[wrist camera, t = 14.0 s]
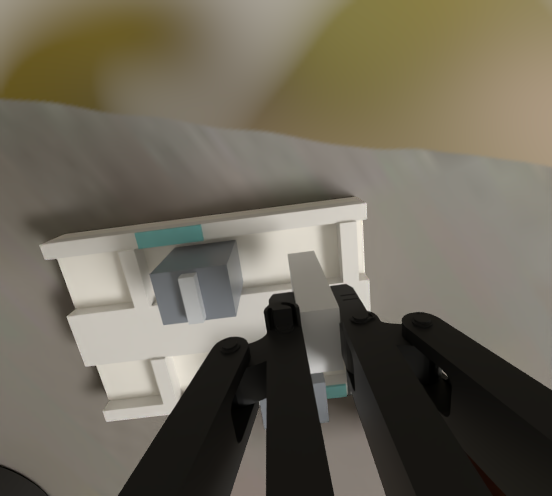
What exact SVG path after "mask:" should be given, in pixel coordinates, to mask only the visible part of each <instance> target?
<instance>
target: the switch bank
mask: <svg viewBox="0 0 552 496" xmlns="http://www.w3.org/2000/svg"><path fill="white" fill-rule="evenodd" d="M365 219H367V204H366V202H364V201H362V200H361V199H359V198H357V197H348V198H340V199H333V200H325V201H317V202H309V203H302V204H294V205H286V206H278V207H271V208H263V209H255V210H247V211H239V212H232V213H224V214H216V215H208V216H201V217H193V218H185V219H177V220H170V221H162V222H154V223H146V224H139V225H131V226H123V227H115V228H107V229H100V230H92V231H84V232H76V233H69V234H64V235H61V236H59V237H57V238H54V239H52V240H50V241H47V242H45V243H42V244H40V245H39V246H40V248H41V251H42V254H43V256H44V259H45V260H50V259H57V260H58V263H59V266H60V268H61V271H62V274H63V276H64V279H65V282H66V285H67V287H68V290H69V293H70V296H71V298H72V301H73V304H74V306H75V310H74V311H73V312H71V313H70V314H69V315H68V316H67V319H68V322H69V325H70V327H71V330H72V332H73V335H74V338H75V340H76V343H77V346H78V348H79V351H80V353H81V356H82V359H83V361H84V364H85V367H87V366H95V365H96V366H97V369H98V372H99V375H100V377H101V380H102V383H103V385H104V388H105V391H106V394H107V396H108V399H109V402H108V403H107V405H106V407H105V408H104V410H103V414H104V417H105V419H106V422H109V421H118V420H127V419H135V418H144V417H153V416H162V415H170V413H171V412H172V410H173V409H174V407H175V406H176V404H177V402H178V401H179V399H180V398H181V396H182V395H183V393H184V391H185V390H186V388H187V387H188V385H189V384H190V382H191V380H192V379H193V377H194V376H195V374H196V373H197V371H198V370H199V368H200V366H201V365H202V363H203V362H204V360H205V359H206V357H207V355H208V354H209V352H210V351H211V349H212V348H213V346H214V345H215V344H216V343H217V342H219V341H221V340H222V339H225V338H228V337H242V338H244V339H246V340H247V342H248V344H249V343H252V342H255V341H257V340H259V339H261V338H263V337H264V336H265V335H266V334H267V330H266V324H265V317H264V309H265V308H266V307H267V306H268V305H269V299H270V297H271V296H272V295H273V294H277V293H285V292H292V286H291V278H290V270H289V262H288V254H292V253H299V252H307V251H314V252H315V254H316V256H317V259H318V261H319V263H320V265H321V268H322V270H323V272H324V274H325V277H326V279H327V281H328V283H329V286H333V285H341V284H347V285H349V286H351V287H353V288H354V290H355V292H356V293H357V295H358V296H359V299H360V300H361V301H362V303H363V305H364V306H365V308H366V310H367V311H370V285H369V278H368V277H367V276H366V274H365V265H364V241H363V220H365ZM229 240H236V242H237V248H238V254H239V260H240V265H241V271H242V277H243V286H242V291H241V296H240V301H239V306H238V311H237V316H236V317H228V318H219V319H211V320H205V322H204V323H198V324H190V325H189V323H188V322H186V323H178V324H170V325H163V323H162V319H161V315H160V312H159V308H158V304H157V301H156V297H155V293H154V290H153V286H152V282H151V279H150V275H149V274H150V273H151V272H152V271H153V270H154V269H155V268H156V267H157V266H158V265H159V264H160V263H161V262H162V261H163V259H164V258H165V257H166V256H167V255H168V254H169V253H170V252H171V251H172V250H173V249H174V248H175V247H182V246H190V245H198V244H206V243H214V242H221V241H229ZM343 363H344V360H343ZM323 374H324V379H325V384H326V394H327V399H330V398H339V397H347V394H348V388H347V375H346V366H345V363H344V370H337V371H329V372H323ZM351 394H352V393H351ZM259 404H260V401H259Z"/></svg>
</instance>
